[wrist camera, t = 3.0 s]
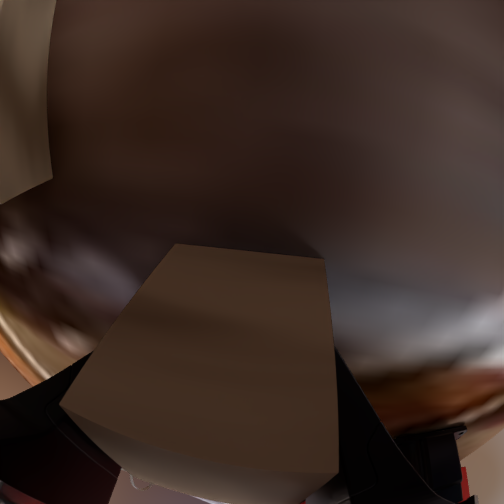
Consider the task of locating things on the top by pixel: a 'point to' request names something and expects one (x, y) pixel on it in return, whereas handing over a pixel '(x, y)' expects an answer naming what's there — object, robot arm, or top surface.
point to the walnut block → (219, 378)
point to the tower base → (24, 95)
